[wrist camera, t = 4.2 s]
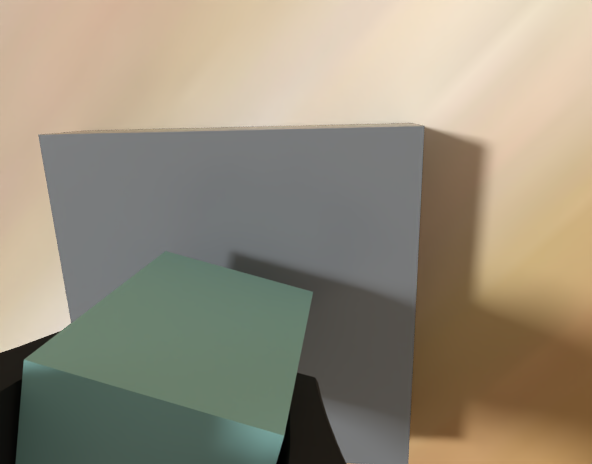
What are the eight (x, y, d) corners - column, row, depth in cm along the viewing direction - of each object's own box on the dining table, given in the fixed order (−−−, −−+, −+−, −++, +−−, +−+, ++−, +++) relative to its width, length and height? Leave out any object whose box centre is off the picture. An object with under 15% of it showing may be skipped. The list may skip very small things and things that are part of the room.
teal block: (278, 418, 14) (229, 625, 9) (143, 378, 14) (7, 555, 9) (313, 291, 13) (284, 435, 7) (165, 251, 13) (23, 360, 7)
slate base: (399, 420, 19) (407, 466, 16) (123, 408, 20) (93, 449, 17) (411, 123, 15) (424, 125, 13) (82, 130, 17) (38, 134, 14)
